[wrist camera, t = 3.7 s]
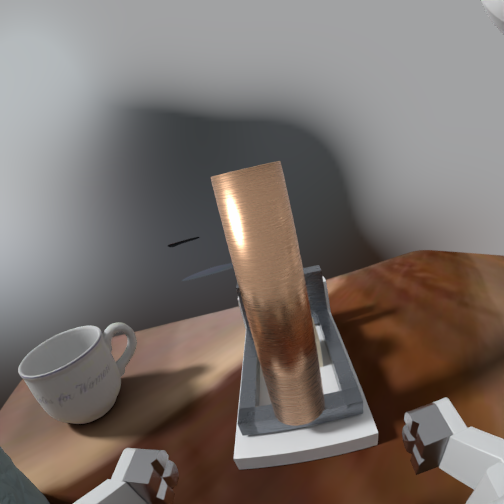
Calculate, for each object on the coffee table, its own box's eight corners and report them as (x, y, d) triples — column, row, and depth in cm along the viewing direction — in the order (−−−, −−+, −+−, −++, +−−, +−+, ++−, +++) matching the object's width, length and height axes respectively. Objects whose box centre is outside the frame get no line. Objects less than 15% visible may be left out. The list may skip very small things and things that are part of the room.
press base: (329, 317, 36) (318, 248, 34) (377, 444, 17) (380, 350, 15) (249, 333, 37) (231, 267, 35) (239, 469, 18) (198, 384, 16)
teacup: (50, 447, 21) (7, 386, 19) (55, 393, 30) (26, 340, 28) (167, 407, 26) (134, 341, 24) (147, 359, 36) (124, 304, 34)
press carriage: (326, 313, 34) (296, 156, 29) (366, 422, 18) (338, 149, 13) (250, 328, 35) (210, 176, 30) (241, 445, 19) (152, 193, 14)
